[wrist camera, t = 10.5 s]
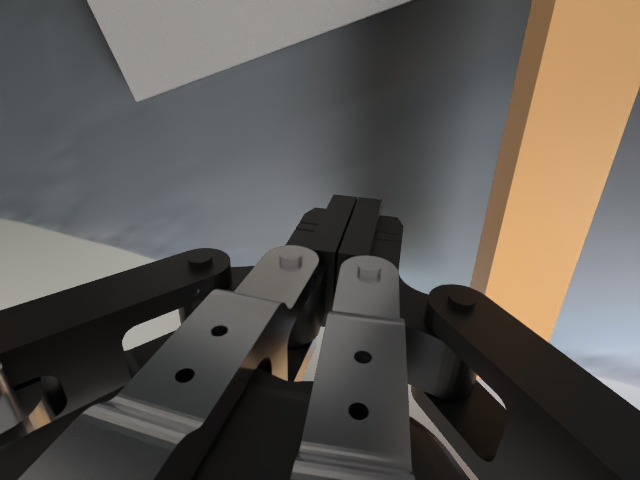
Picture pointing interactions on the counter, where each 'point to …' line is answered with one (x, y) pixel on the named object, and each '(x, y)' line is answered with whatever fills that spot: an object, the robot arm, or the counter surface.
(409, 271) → the counter surface
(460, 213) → the counter surface
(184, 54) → the plate
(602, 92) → the swing arm
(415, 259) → the counter surface
